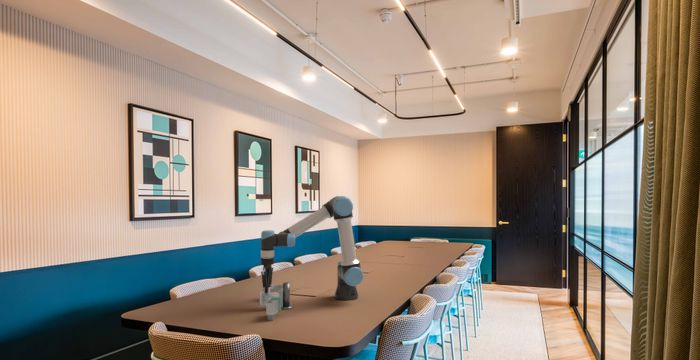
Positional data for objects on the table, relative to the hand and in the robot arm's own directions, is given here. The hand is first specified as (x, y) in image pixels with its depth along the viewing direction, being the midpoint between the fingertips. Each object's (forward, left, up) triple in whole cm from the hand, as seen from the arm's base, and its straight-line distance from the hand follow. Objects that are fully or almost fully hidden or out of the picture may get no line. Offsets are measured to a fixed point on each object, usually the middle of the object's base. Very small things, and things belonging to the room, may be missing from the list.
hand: (266, 298), depth 233 cm
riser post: (-2, +11, -5) cm, 12 cm away
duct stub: (+19, +11, -5) cm, 22 cm away
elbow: (+2, +4, -4) cm, 6 cm away
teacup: (-20, -3, -5) cm, 21 cm away
